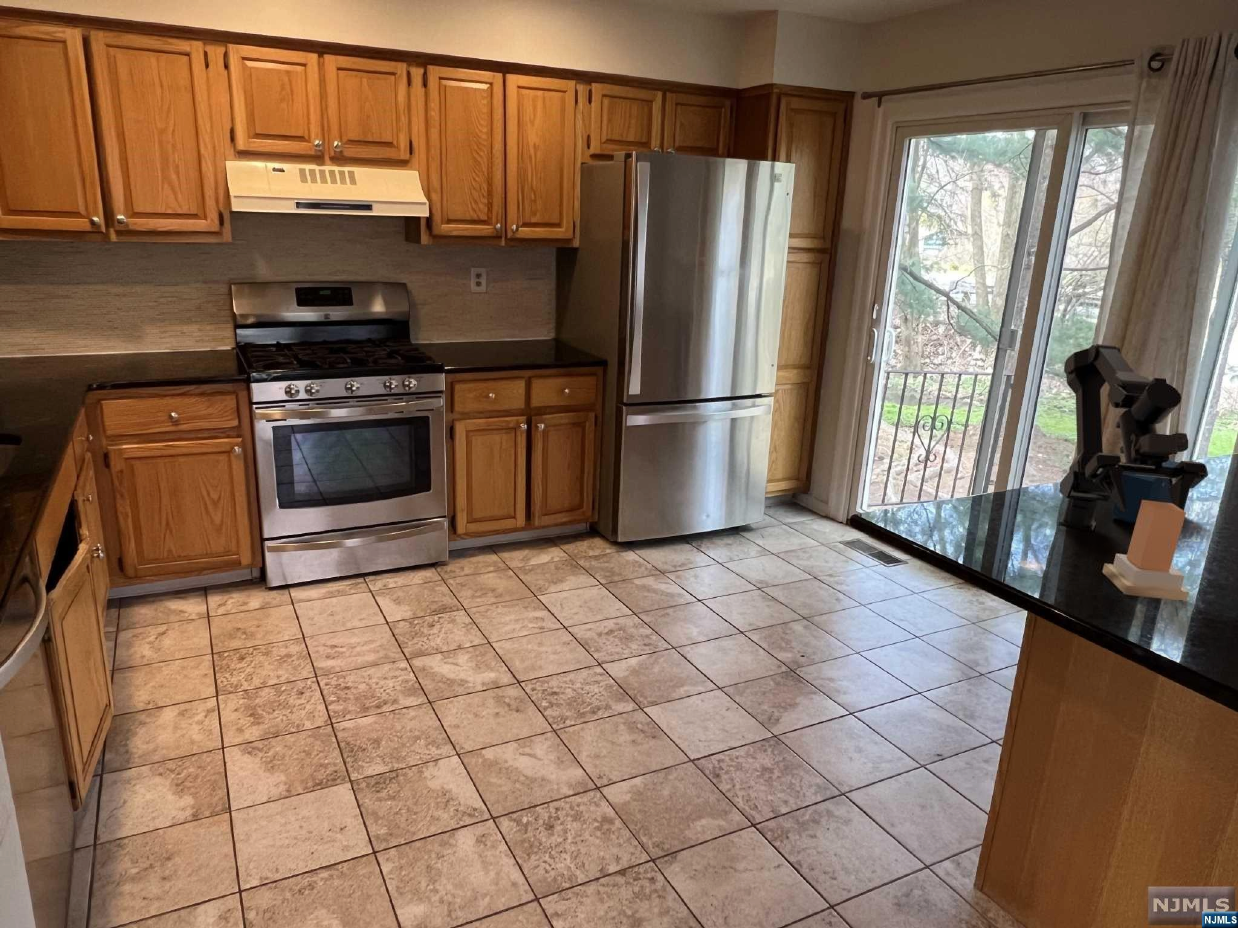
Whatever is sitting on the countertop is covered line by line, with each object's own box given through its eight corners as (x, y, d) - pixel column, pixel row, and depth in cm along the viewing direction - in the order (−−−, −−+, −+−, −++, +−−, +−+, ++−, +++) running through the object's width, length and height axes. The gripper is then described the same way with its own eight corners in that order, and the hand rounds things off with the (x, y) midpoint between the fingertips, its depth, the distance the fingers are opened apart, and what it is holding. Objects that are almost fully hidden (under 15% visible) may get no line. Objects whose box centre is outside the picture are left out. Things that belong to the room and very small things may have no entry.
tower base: (1101, 575, 157) (1104, 563, 156) (1159, 582, 156) (1162, 569, 155) (1123, 598, 147) (1127, 585, 147) (1185, 605, 146) (1189, 592, 145)
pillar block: (1126, 557, 152) (1142, 499, 149) (1155, 561, 152) (1172, 503, 149) (1138, 567, 148) (1155, 508, 144) (1168, 571, 147) (1186, 512, 144)
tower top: (1113, 566, 155) (1116, 553, 154) (1159, 571, 154) (1162, 558, 153) (1131, 583, 147) (1135, 570, 147) (1180, 589, 146) (1184, 575, 146)
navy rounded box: (1145, 505, 200) (1166, 423, 195) (1186, 516, 194) (1208, 431, 188) (1103, 518, 188) (1124, 431, 183) (1145, 531, 181) (1168, 441, 176)
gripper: (1105, 409, 152) (1115, 486, 145) (1217, 419, 150) (1233, 497, 142) (1080, 441, 162) (1088, 514, 155) (1184, 450, 159) (1198, 525, 152)
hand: (1151, 512), depth 151 cm, fingers open, 9 cm apart
